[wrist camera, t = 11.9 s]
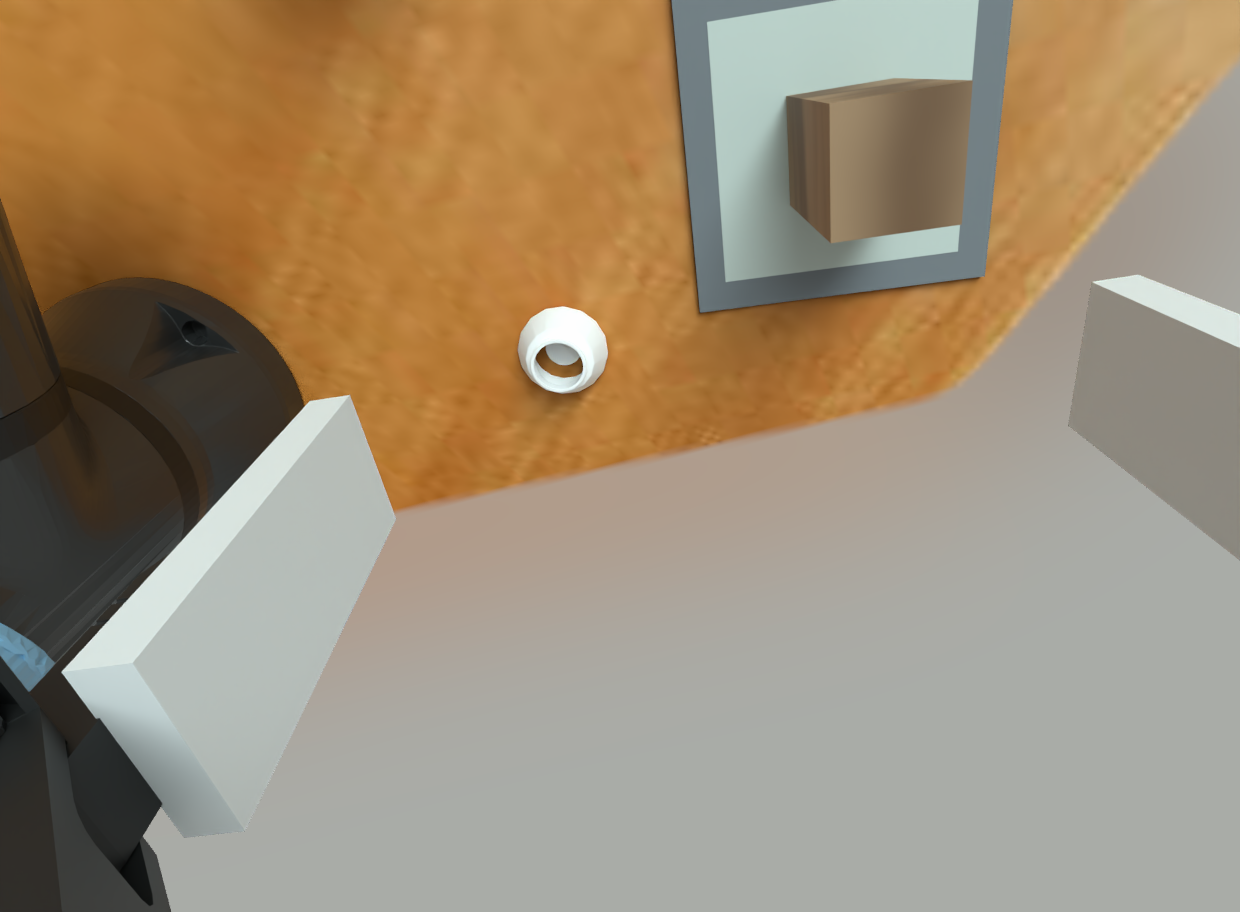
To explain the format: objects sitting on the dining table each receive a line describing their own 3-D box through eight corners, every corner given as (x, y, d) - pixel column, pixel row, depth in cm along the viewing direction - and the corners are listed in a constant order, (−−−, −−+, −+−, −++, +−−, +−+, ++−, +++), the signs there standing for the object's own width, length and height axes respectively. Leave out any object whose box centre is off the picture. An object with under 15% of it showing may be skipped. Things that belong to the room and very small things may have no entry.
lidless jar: (503, 332, 40) (552, 401, 42) (493, 350, 38) (545, 423, 40) (577, 288, 39) (623, 362, 41) (572, 304, 36) (622, 382, 38)
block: (789, 205, 36) (830, 243, 28) (786, 95, 33) (829, 103, 26) (891, 190, 35) (961, 224, 27) (894, 78, 33) (972, 80, 25)
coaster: (699, 310, 39) (700, 312, 39) (670, -11, 32) (670, -12, 32) (981, 274, 38) (984, 276, 37) (1016, -71, 30) (1020, -72, 30)
